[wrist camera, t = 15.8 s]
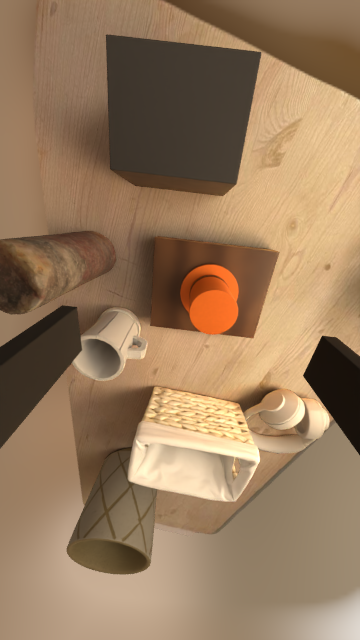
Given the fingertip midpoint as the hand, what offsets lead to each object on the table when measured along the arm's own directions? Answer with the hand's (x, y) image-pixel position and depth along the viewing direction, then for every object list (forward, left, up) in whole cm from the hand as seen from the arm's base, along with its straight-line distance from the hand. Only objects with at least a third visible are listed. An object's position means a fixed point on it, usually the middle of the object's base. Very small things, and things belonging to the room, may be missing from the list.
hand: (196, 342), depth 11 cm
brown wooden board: (+3, -5, -28) cm, 29 cm away
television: (-4, +15, -28) cm, 32 cm away
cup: (-13, -15, -29) cm, 35 cm away
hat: (+3, -5, -25) cm, 26 cm away
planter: (-11, -64, -29) cm, 71 cm away
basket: (+4, -38, -29) cm, 47 cm away
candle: (-18, -1, -29) cm, 34 cm away
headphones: (+25, -35, -29) cm, 52 cm away
